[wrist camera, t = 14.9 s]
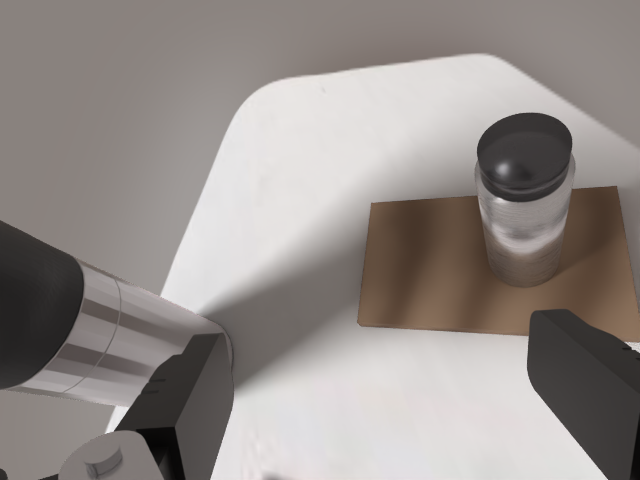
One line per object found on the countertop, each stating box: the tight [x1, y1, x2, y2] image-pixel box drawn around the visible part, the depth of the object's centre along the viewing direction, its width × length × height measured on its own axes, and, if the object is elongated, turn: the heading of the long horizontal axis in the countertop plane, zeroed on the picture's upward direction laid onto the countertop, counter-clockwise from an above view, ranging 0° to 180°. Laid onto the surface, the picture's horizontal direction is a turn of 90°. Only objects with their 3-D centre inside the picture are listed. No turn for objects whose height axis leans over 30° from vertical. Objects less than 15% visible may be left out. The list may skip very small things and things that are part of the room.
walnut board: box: [357, 186, 640, 342], centre depth 34 cm, size 20×12×1 cm, turn 81°
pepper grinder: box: [475, 113, 575, 288], centre depth 27 cm, size 5×5×14 cm
